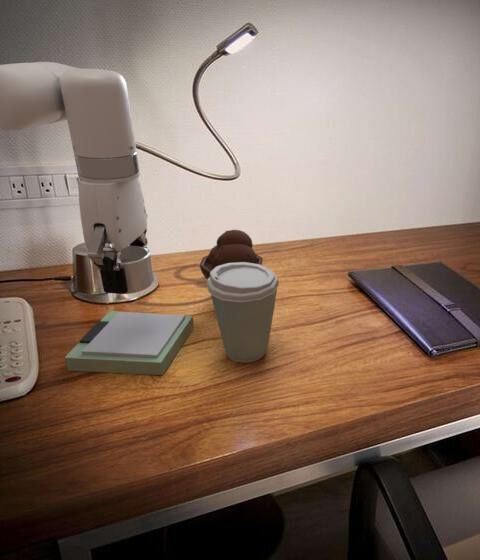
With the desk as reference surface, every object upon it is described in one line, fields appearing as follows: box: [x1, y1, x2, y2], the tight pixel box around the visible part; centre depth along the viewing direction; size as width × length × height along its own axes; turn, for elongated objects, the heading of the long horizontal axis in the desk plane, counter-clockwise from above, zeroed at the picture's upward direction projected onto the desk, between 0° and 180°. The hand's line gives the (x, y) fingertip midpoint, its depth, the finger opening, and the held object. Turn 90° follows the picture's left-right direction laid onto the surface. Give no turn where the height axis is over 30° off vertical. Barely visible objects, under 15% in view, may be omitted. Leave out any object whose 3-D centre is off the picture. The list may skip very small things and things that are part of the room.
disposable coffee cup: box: [206, 262, 280, 364], centre depth 83 cm, size 11×11×15 cm
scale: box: [64, 310, 195, 376], centre depth 85 cm, size 14×14×3 cm
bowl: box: [98, 245, 155, 295], centre depth 79 cm, size 7×7×5 cm
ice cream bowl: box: [199, 229, 264, 281], centre depth 96 cm, size 11×11×15 cm
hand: (128, 279), depth 80 cm, fingers closed on bowl, 7 cm apart
